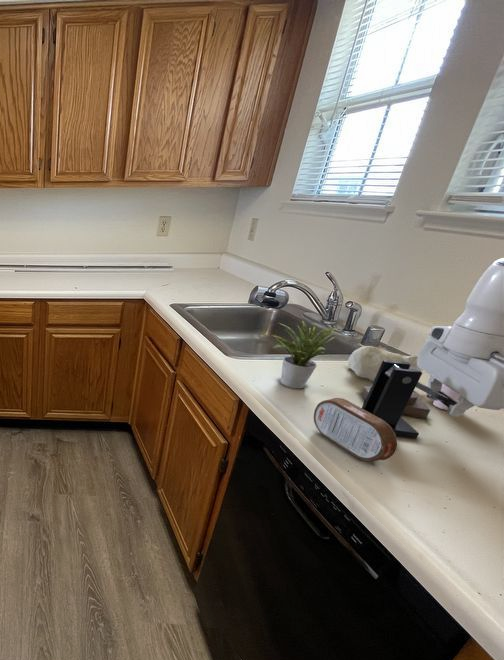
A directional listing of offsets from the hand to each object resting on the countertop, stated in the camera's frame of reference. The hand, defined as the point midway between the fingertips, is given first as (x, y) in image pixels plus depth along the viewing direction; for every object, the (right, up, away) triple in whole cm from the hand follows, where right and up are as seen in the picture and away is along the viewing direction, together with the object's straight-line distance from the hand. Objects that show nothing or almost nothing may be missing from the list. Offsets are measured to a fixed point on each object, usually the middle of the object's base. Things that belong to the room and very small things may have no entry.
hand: (441, 406), depth 85 cm
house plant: (-14, +4, +23) cm, 27 cm away
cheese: (+11, +5, +25) cm, 28 cm away
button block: (+1, -1, +12) cm, 12 cm away
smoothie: (+13, -1, +12) cm, 18 cm away
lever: (-5, +3, 0) cm, 6 cm away
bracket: (-9, -4, +5) cm, 11 cm away
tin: (-22, -8, -2) cm, 24 cm away
